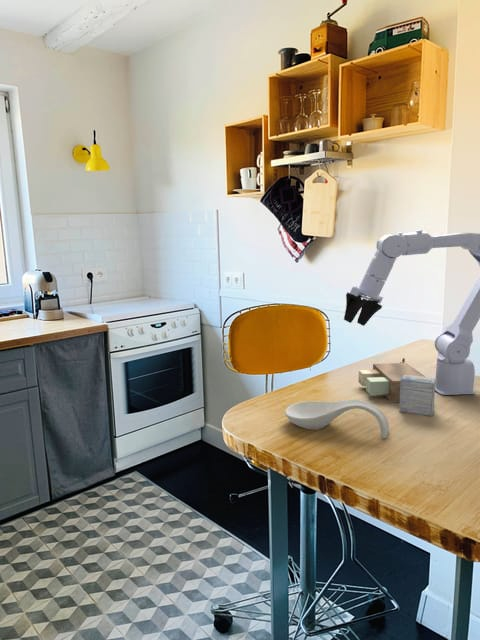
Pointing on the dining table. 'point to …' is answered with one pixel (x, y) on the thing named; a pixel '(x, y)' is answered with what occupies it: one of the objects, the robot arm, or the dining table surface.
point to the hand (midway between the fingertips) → (354, 322)
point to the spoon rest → (330, 413)
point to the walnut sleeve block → (395, 377)
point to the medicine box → (417, 395)
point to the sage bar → (377, 385)
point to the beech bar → (367, 375)
